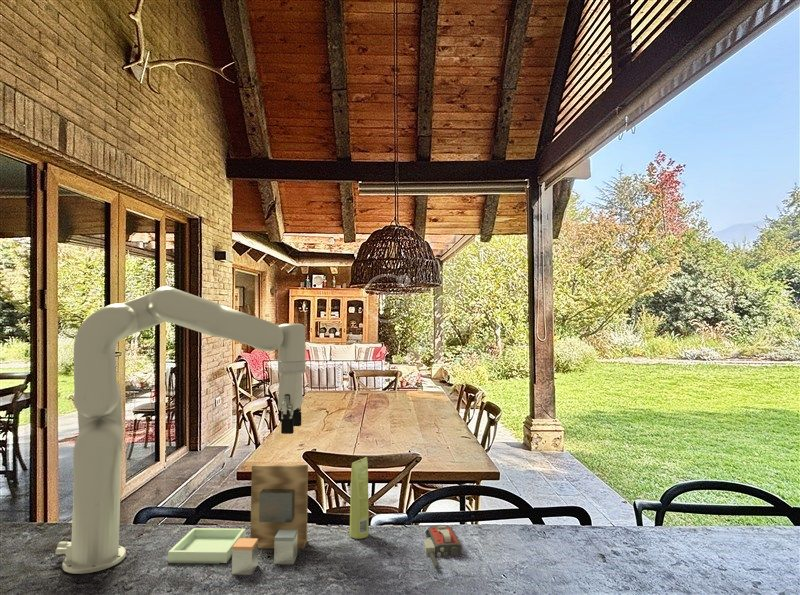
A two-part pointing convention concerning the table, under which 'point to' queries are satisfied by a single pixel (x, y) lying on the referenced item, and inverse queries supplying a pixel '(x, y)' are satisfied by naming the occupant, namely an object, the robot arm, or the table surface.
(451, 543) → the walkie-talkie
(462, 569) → the table surface
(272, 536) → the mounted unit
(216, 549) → the tray
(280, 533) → the block
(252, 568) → the block
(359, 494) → the tube
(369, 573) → the table surface
